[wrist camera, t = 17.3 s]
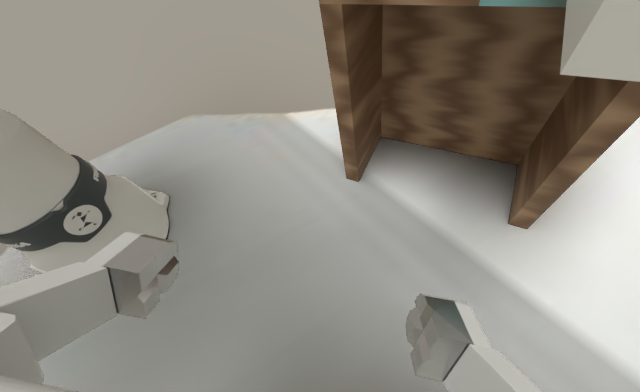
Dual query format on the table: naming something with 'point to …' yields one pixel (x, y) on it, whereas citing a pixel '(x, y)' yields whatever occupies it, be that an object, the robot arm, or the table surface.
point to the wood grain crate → (472, 89)
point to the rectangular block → (602, 39)
